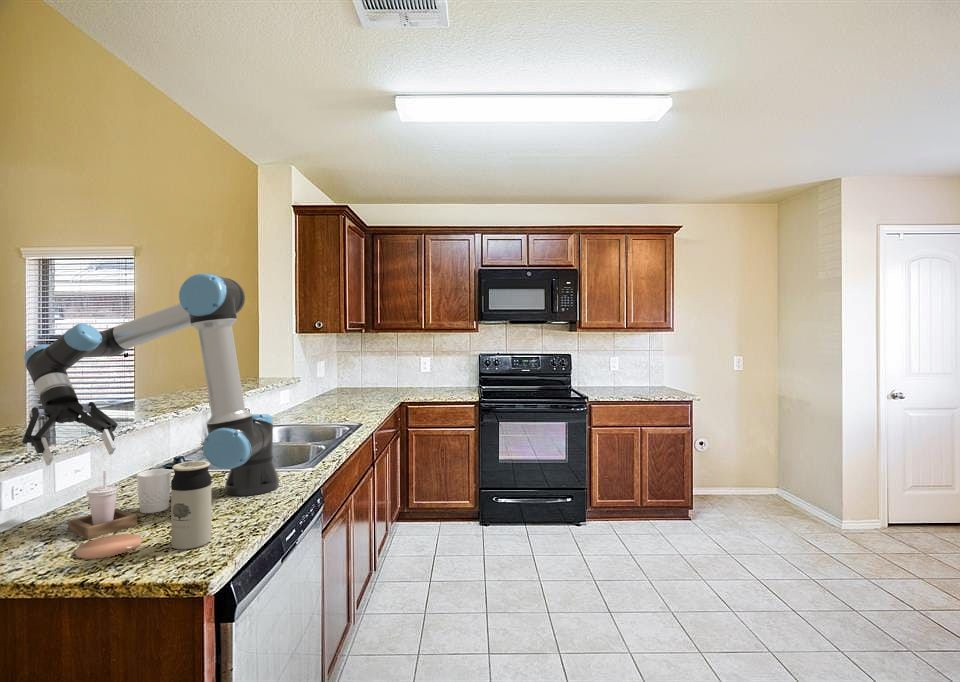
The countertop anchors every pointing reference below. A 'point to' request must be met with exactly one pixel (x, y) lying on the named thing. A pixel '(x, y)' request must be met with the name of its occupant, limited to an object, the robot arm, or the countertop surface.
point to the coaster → (108, 546)
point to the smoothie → (102, 502)
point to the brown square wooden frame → (88, 531)
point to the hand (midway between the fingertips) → (82, 456)
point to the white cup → (154, 490)
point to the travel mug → (190, 505)
